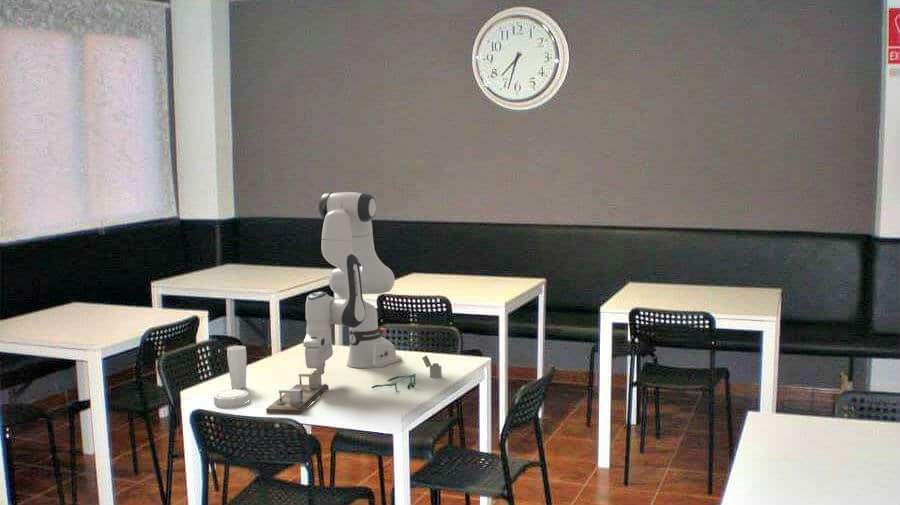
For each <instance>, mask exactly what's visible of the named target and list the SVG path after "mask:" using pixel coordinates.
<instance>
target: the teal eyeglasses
mask: <svg viewBox="0 0 900 505" xmlns="http://www.w3.org/2000/svg"><path fill="white" fill-rule="evenodd" d="M416 375H417V374H416V373H413V374H407V375H397V376H394V377H391V378H389V379H387V380H386V381H387V382H390V381H393V380H396V379H400V380H397V381H395V382H392V383H385V384H375V385H372V386H371V388H372V389H374V388H382V387H393V386H394V389H395V392H396V393H398V392H401V390H398V389H397V388H398V387H397V385H398V384H397V383H399V382H401V381H403V380H407V379H410V382H409V383H408V385H407V387H406V388H407V390H410V389H411V388H415V386H416V385H417V384H416ZM412 378H413V379H412Z"/></svg>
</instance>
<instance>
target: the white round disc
mask: <svg viewBox="0 0 900 505" xmlns="http://www.w3.org/2000/svg"><path fill="white" fill-rule="evenodd" d="M248 400H249V401H250V392H249V391H248V390H244V389H233V388H232V389H224V390H222V391H219V392H217V393H215V394H214V395H213V401H214V402H213V404H214V405H215V406H216V407H220V408H235V407H240V406H244V405H246V404H245V402H247V401H248Z"/></svg>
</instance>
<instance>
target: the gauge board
mask: <svg viewBox="0 0 900 505" xmlns="http://www.w3.org/2000/svg"><path fill="white" fill-rule="evenodd" d="M291 389H302V390H303V401H305V400H306V399H307V398H308V397H309V396H310V395H311V394H313V393H314V392H315V391H316V390H317V389H318V388H309V384H302V385H300V383H299V384H295V385H294V386H292V388H290V389H289V390H291ZM328 390H329V385H328V384H327V386H326V387H325V388H324V389H323V390H321V391H320V392H319V393H318V394H317V395H316V396H315V397H314V398H312V399H311V400H310V401H309V402H308V403H307V404H306V405H305V406H303V407H302V408H301V409H298V406H294V405H290V396H289V393H283V394H282V402H280V397H279V398H278V399H277V400H275V401H274V402H273V403H272V404H270V405H269V406H267V408H266V409H265V412H266V413H265V414H283V415H285V414H286V415H301V414H303V413H304V412H306V410H307V409H308V408H309V407H310V406H311V405H310V404H311V403H312V402H313V401H315V400H316V399H317V398H318V397H319V396H320V397H322V396H323V395H324V394H325V393H326V392H328ZM324 392H325V393H324ZM323 393H324V394H323ZM322 394H323V395H322ZM321 395H322V396H321ZM320 397H319V398H320ZM319 398H318V399H319ZM318 399H317V400H318ZM317 400H316V401H317ZM316 401H315V402H316ZM309 405H310V406H309ZM308 406H309V407H308ZM307 407H308V408H307Z"/></svg>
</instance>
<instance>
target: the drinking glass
mask: <svg viewBox="0 0 900 505" xmlns="http://www.w3.org/2000/svg"><path fill="white" fill-rule="evenodd" d="M246 348H247V347H246V346H244V345H232V346H229V347H227V348H226V351H227V352H226V357H227V365H228V371H229V377H230V386H231V388H232V389H233V388H235V389H240V388H243V389H245V388H247V360H248V359H247V349H246Z"/></svg>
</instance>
